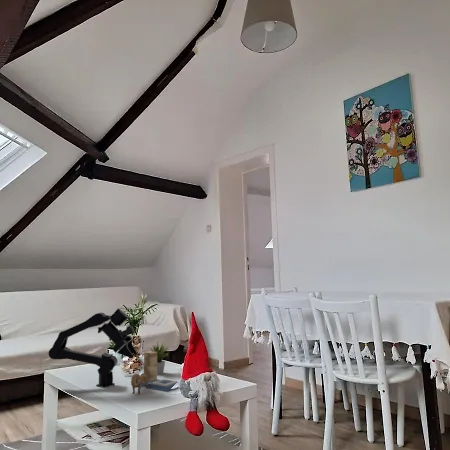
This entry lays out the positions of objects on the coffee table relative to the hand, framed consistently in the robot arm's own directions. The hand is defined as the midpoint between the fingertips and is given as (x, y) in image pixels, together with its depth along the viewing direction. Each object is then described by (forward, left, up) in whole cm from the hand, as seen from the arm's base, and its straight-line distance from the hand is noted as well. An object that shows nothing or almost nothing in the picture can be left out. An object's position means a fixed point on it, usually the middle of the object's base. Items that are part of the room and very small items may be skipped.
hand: (134, 356), depth 196 cm
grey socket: (+17, +3, -11) cm, 21 cm away
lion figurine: (+12, -8, -14) cm, 20 cm away
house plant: (-6, +24, -14) cm, 28 cm away
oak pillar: (+6, +5, -11) cm, 14 cm away
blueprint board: (+12, +3, -13) cm, 19 cm away
